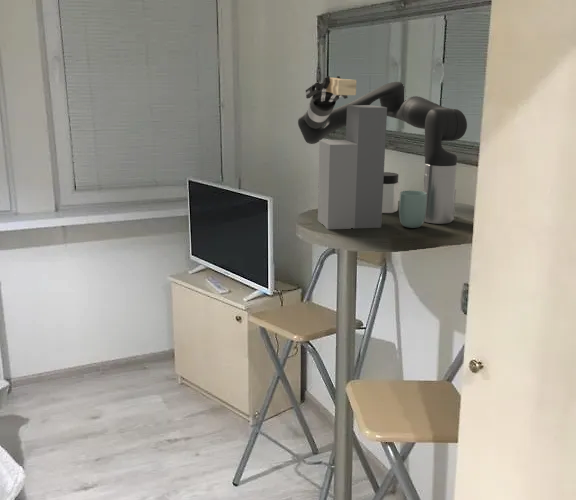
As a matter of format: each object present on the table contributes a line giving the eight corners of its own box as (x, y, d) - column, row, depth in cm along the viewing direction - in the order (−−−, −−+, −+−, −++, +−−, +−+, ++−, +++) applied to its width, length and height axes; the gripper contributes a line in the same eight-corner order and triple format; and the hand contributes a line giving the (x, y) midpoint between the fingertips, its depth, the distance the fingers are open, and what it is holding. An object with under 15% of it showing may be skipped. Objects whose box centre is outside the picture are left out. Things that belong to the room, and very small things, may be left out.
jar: (377, 206, 217) (379, 171, 214) (400, 209, 213) (402, 173, 210) (366, 211, 210) (368, 174, 207) (390, 214, 206) (392, 176, 203)
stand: (317, 220, 197) (320, 105, 188) (368, 218, 200) (373, 105, 191) (327, 229, 185) (330, 107, 176) (381, 227, 188) (387, 107, 179)
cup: (425, 230, 186) (427, 195, 183) (397, 228, 187) (399, 194, 184) (425, 224, 193) (427, 191, 190) (398, 222, 194) (400, 189, 192)
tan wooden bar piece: (320, 91, 197) (320, 77, 196) (336, 91, 198) (336, 77, 197) (338, 95, 177) (338, 80, 176) (355, 95, 178) (356, 80, 177)
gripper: (343, 116, 208) (358, 90, 191) (300, 117, 205) (311, 90, 189) (341, 95, 209) (355, 67, 193) (298, 95, 207) (309, 67, 190)
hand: (333, 79), depth 191 cm, fingers closed on tan wooden bar piece, 2 cm apart
